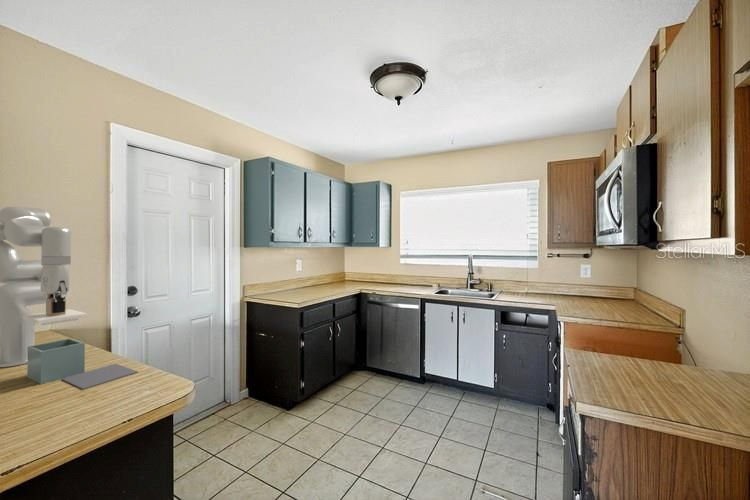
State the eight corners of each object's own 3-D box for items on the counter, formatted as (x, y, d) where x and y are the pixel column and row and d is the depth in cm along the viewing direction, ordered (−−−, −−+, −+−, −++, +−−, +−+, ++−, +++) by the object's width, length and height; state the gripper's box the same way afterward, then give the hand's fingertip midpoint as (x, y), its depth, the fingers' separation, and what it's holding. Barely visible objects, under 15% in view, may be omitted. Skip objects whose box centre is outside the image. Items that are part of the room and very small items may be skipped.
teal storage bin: (27, 377, 112) (27, 346, 112) (70, 366, 123) (70, 338, 123) (41, 384, 107) (40, 351, 107) (84, 372, 118) (84, 342, 117)
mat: (61, 379, 111) (61, 378, 111) (115, 364, 125) (115, 363, 125) (83, 389, 104) (83, 388, 104) (137, 372, 118) (137, 371, 118)
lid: (23, 321, 112) (23, 298, 112) (71, 314, 124) (71, 293, 124) (37, 327, 106) (38, 302, 106) (86, 319, 118) (87, 297, 118)
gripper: (32, 260, 115) (32, 310, 115) (52, 263, 107) (51, 316, 108) (60, 259, 122) (59, 307, 122) (80, 262, 114) (79, 312, 114)
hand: (55, 311), depth 115 cm, fingers closed on lid, 4 cm apart
